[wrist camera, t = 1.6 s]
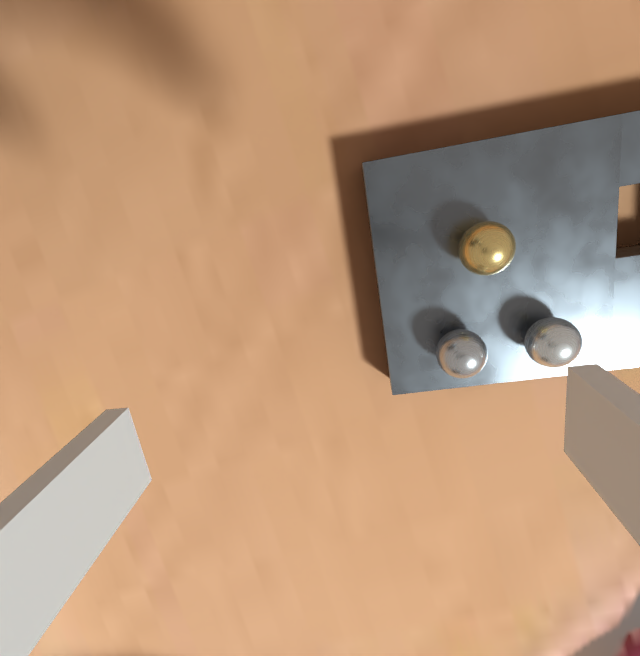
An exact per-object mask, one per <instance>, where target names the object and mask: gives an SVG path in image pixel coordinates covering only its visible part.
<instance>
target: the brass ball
mask: <svg viewBox="0 0 640 656" xmlns="http://www.w3.org/2000/svg"><path fill="white" fill-rule="evenodd" d="M515 251H516V242H515V238H514V236H513V234H512V232H511V231H510V230H509V229H508V228H507V227H506V226H504V225H503V224H501V223H498V222H494V221H484V222H480V223H477V224H475V225H473V226H472V227H470V228H469V229H468V230H467V231H466V232H465V233H464V234H463V236H462V238H461V240H460V242H459V247H458V253H459V258H460V261H461V263H462V264H463V265H464V267H465V268H466V269H467V270H469V271H470V272H472V273H474V274H477V275H484V276H487V275H493V274H496V273H498V272H500V271H502V270H504V269H505V268H506V267H507V266H508V265H509V264H510V263H511V261H512V260H513V257H514V255H515Z"/></svg>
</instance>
